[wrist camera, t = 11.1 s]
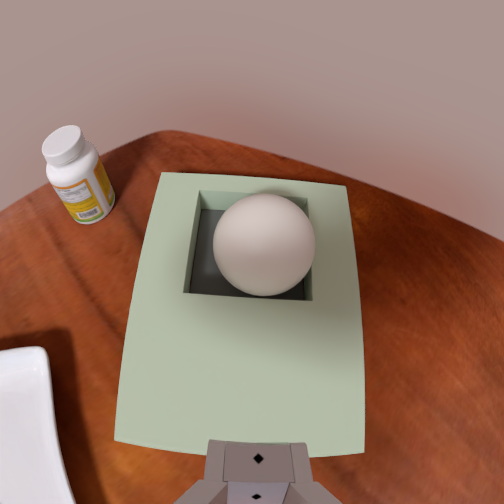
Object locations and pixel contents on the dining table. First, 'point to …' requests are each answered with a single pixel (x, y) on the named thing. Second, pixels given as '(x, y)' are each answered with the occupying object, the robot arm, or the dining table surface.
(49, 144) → the supplement bottle
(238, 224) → the ball
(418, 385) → the dining table surface
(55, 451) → the salad plate
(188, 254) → the putting deck
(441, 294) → the dining table surface
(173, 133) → the dining table surface
